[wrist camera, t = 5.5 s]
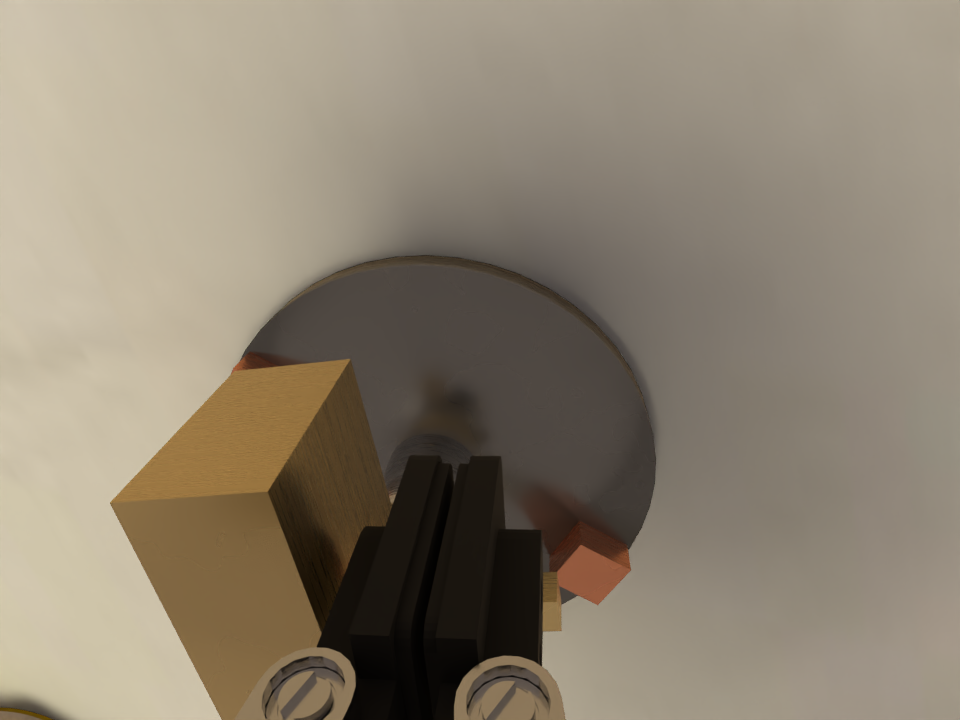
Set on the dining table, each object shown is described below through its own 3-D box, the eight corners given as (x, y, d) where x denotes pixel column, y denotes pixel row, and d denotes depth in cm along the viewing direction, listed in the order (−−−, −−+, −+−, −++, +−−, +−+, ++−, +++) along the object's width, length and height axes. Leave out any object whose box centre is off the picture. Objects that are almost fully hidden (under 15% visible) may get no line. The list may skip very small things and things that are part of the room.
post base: (745, 400, 21) (810, 524, 16) (513, 656, 28) (504, 805, 22) (329, 164, 19) (241, 214, 14) (186, 502, 26) (89, 625, 20)
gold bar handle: (517, 301, 14) (493, 475, 8) (586, 769, 20) (597, 1029, 15) (149, 344, 15) (-75, 516, 10) (330, 768, 22) (258, 1005, 17)
